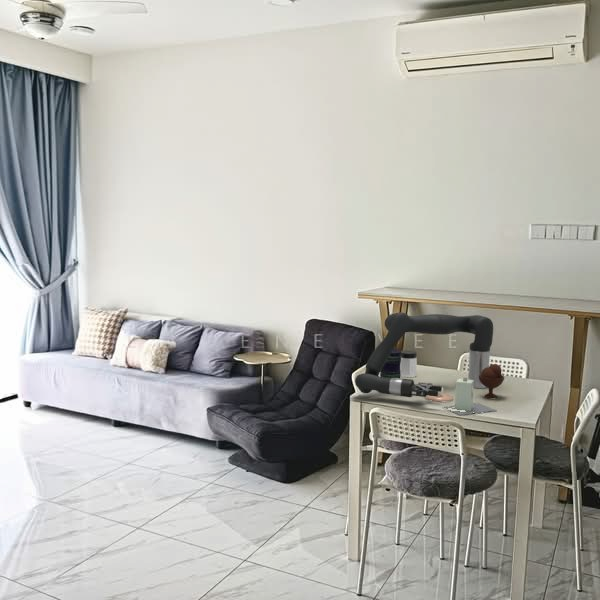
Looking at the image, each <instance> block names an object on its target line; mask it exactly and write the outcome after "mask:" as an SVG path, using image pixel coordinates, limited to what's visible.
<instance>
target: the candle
mask: <svg viewBox="0 0 600 600" xmlns="http://www.w3.org/2000/svg"><path fill="white" fill-rule="evenodd" d="M438 386H441V385H440V384H439V385H438ZM441 387H442V391H441V392H439V391H438V396H437V397H443V393H444V386H441Z"/></svg>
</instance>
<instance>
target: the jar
mask: <svg viewBox="0 0 600 600" xmlns="http://www.w3.org/2000/svg"><path fill="white" fill-rule="evenodd" d="M417 363H418V358H417V351H415V350H408V349H407V350H405V349H404V350H401V363H400V370H401V373H400V374H401V377H400V378H402V377H403V378H409V379H410V378H414V377H415V376H416V377H417V366H418V364H417Z"/></svg>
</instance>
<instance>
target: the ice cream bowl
mask: <svg viewBox="0 0 600 600" xmlns="http://www.w3.org/2000/svg"><path fill="white" fill-rule="evenodd" d="M502 372H503V371H502V367H501V366H500V365H499V364H496V363H493V364H492V363H491V364H489V367H486V368H484V369H483V370H482V372H481V374H480V375H479V380H480V382H481V383H482V384H483V385H484V386H486V387H487V388H488V392H487V393H486V394H485V395H484V396H485V397H487V398H486V399H489V398H495V399H497V398H498V396H497V395H496V394H494V390H495V389H496V388H498V387H500V385H502V384H503V382H504V380H505V376H504V375H503V374H502ZM485 397H484V398H485Z"/></svg>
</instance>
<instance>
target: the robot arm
mask: <svg viewBox="0 0 600 600" xmlns="http://www.w3.org/2000/svg"><path fill="white" fill-rule="evenodd" d="M384 328H385V329H386V330H387V331H388V332H387V333H386V335H384V336H385V337H384V338H383V339H382V340H381V342H380V343H379V344H378V345H377V346H376V347H375V349H374V350H373V351H372V353H371V355H370V356H369V358H368V360H367V362H366V363H365V372H364V373H359V374H358V375H357V376H355V378H354V383H355V386H356V387H357V389H358V390H359V391H360V393H362V394H369V393H371V392H372V391H376V392H378V393H380V394H383V395H392V396H396V397H404V398H405V397H406V398H412V397H413V396H414V397H421V398H425V397H426V396H428V395H429V396H436V397H437V396H438V391H439V392H441V391H442V387H443V386H441V385H440V386H439V385H433V383H428V382H418V383H416V384H415V380H414V379H412V378H411V379H410V378H409V379H408V378H402V377H400V378H386V377H380V373H381V372H380V371H381V370H382V368H383V366H384V364H385V362H386V361H387V359H388V357H389V355H390V354H391V352H392V350H393V349H395V347H396V345H398V343H399V341H400V340H401V339H402V337H403V336H404V335H405V334H406V333H420V334H425V335H451V334H454V333H467V334H472V335H474V340H473V342H471V343H470V344H469V357H468V376H467V377H468V378H467V379H468V380H474V388H475V389H486V388H487V387H486V386H484V385H483V384H482V383H481V382H480V380H479V375H480V374H481V372H482V370H483V369H484V368H486V367H489V366H490V357H491V356H490V355H491V347H492V343H493V337H494V324H493V321H492V320H491V318H490V317H487V316H482V315H479V314H475V315H465V316H463V315H462V316H457V315H452V314H443V313H442V314H439V313H437V314H436V313H435V314H434V313H431V314H422V315H421V314H420V315H413V316H412V315H408V313H406V312H402V311H399V312H394V313H390V314H389V315H388V316H387V317H386V318H385V319H384Z"/></svg>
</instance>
